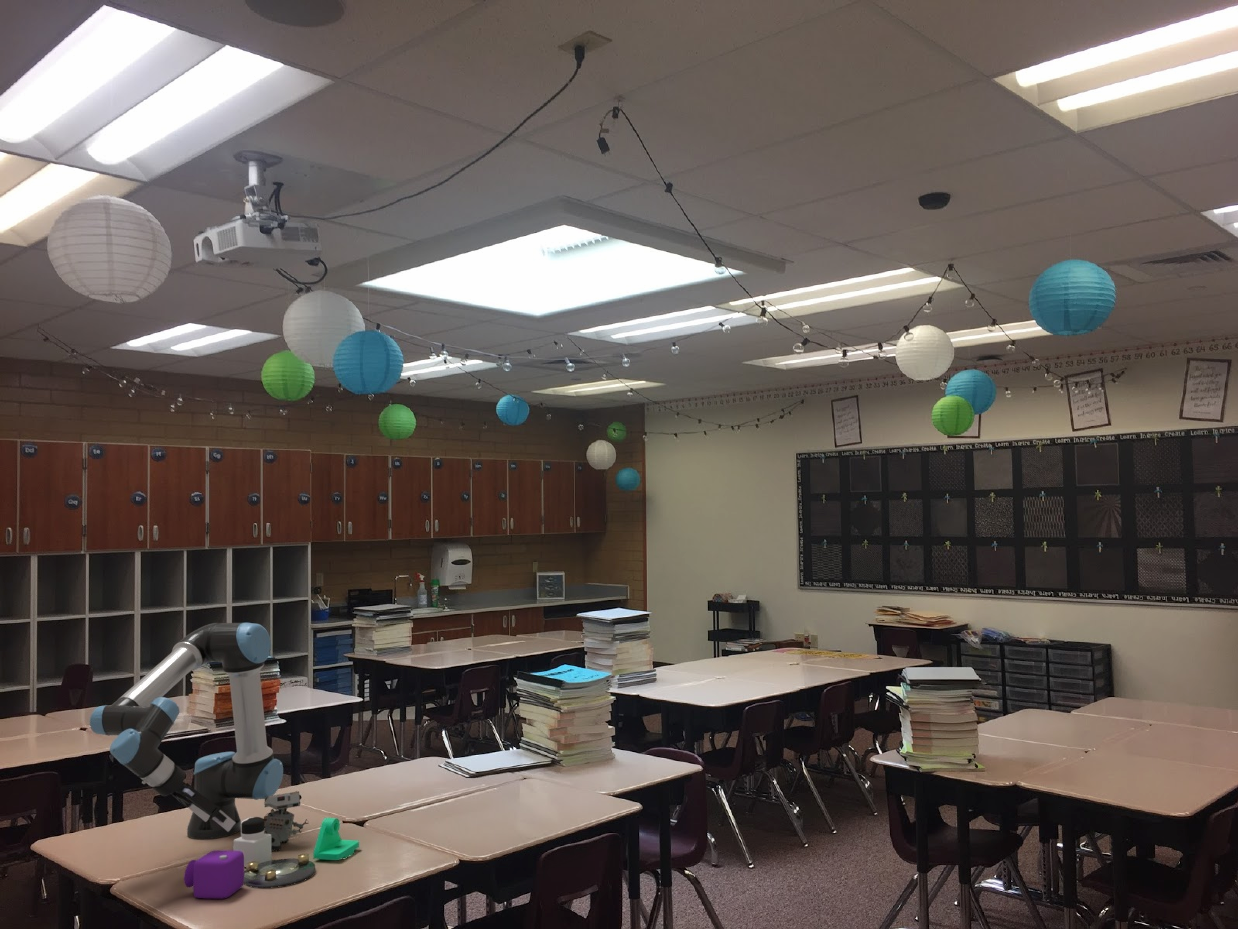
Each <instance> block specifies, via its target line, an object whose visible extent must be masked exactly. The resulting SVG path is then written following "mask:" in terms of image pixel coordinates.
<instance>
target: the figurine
mask: <svg viewBox="0 0 1238 929" xmlns="http://www.w3.org/2000/svg"><path fill="white" fill-rule="evenodd" d="M301 800H302V795H301V794H300V790H299V791H298V790H296V791H293V792H292V791H291V792H286V793H281V794H280V793H279V794H274V795H272V796H267V797H266V798H265V799H264V803H263V804H264V808H272V809H270V812H268V813H266V814H265V815H264V816H263V819H264V833H263V834H271V852H272V851H273V852H279V851H280V850H281V849H282V846H281V844H284V843H285V844H286V843H288V842H289V839H290V838H291V835H293V836H295V835H296V834H297V833H300V834H301V833H302V832H303V830H302V829H303V828H304V826H305V825H308V824H309V820H308V819H305V821H304V822H303V823H298V822H297V821H294V818H295V814H294V813H292V812H290V811H287V809H290V808H297V807H300V806H301ZM293 827H294V829H292V828H293ZM296 827H297V828H298V829H295V828H296Z"/></svg>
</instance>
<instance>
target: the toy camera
mask: <svg viewBox="0 0 1238 929" xmlns="http://www.w3.org/2000/svg"><path fill="white" fill-rule="evenodd" d="M244 871H245V868H244V854H243V852H241V851H233V850H212V851H210V852H208V853H206V854H204V855H203V856H202V857H200V858H198V859H197V860H196V859H192V860H190V861H189V863H188V864H187V866H186V867H185V871H184V875H183V881H184V882H183V883H184V885H185V886H186V888H192V887H193V888H192V889H193V891H192V892H193V896H194V898H197V899H211V900H212V899H215V900H217V899H220V900H222V899H227V898H229V897H231V896H232V895H233V894H234V893H236V892H237V891H239V890H240V889H241V888H242V887H243V885H244V883H243V882H244Z"/></svg>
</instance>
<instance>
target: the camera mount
mask: <svg viewBox="0 0 1238 929" xmlns="http://www.w3.org/2000/svg"><path fill="white" fill-rule="evenodd" d="M340 824H341V822H340V819H339V818H338V817H336V818H335V817H324V819H323V820H322V822H321V825H320V827H319V831H318V836H317V839H316V842H315V846H314V849H313V852H312V853H313V859H315V860H329V861H338V860H342V859H341V858H346V857H348V856H349V855H351V856H353V855H354V854H355V851H356V850H357V849H359V848H360V841H359V840H351V839H342V838H341V835H340V833H339V831H340V828H341V825H340ZM353 853H354V854H353ZM352 854H353V855H352ZM348 858H349V857H348Z"/></svg>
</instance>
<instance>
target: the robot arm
mask: <svg viewBox="0 0 1238 929" xmlns="http://www.w3.org/2000/svg"><path fill="white" fill-rule="evenodd" d="M271 648H272V642H271V637H270V634H269V632H268V631H267V629H266V628H265V627H264V626H263V625H261V624H260V623H251V622H227V623H226V622H213V623H209V624H206V625H203V626H201V627H199V628H197V629H195V630H193V631H192V632H190V633H188V634H187V635H186V636H184V637H183V638H182V639H181V640H179V641H177V643H175V645H174V646H173V648H172V651H171V653H169V654H168V655H167V656H166V657H165V658H164V659H162V661H161V662H159V663H158V664H157V665H155V667H153V668H152V669H151V670H150V671H149V672H148V673H147V674H146V675H145V676H142V677H141V678H140V680H138V681H137V682H136V683H135V684H134V685H133V686H132V687H130V688H129V689H128V690H127V691H126V692H125V693H124V694H123V695H121V696H120V697H119V698H117V700H115V702H113V703H112V704H105V705H101V706H97V707H96V708H95V709H94V710H93V711H92V713H91V714H90V717H89V727H90V729H91V731H92V732H93V733H95V734H96V735H102V736H103V735H105V736H117V737H116V738H114V739H113V741H112V743H110V747H109V752H110V754H111V755H112V756H113V758H115V760H117V761H118V762H119V764H121V765H122V766H124V767H125V768H127V769H128V770H129V771H130V772H132V773H133V774H134V775H135V776H137V777H139V778H140V779H141V780H142V781H141V784H143V785H146V784H147V785H148V786H149V787H151V788H152V789H153V790H154V791H155V792H156V793H158V795H160V796H162V797H168V796H169V795H172V797H174V798H175V800H177V802H179V803H180V804H181V805H183V806H184V807H187V808H188V809H189V810H190V811H191V812H192V814H191V816H190V819H189V822H188V826H187V829H186V830H187V831H186V832H187V833H186V834H187V837H188V838H190V839H194V838H196V840H210V839H212V840H213V839H218V838H224V837H228V836H231V835H235V834H237V833H238V832H239V831H241V822H242V821H241V818H240V817H241V816H240V814H239V812H238V811H239V810H238V808H237V805H236V799H244V800H255V801H256V800H257V801H258V800H265V798H266V797H267V796H272V795H276V794H277V791H278V790H279V788H280V786H281V783H282V781H283V776H284V767H283V766H284V764H283V762H282V761H281V760H280V759H278V758H274V751H273V749H272V748H271V747H269V746H268V743H267V731H266V722H265V713H264V712H265V711H264V701H263V700H264V699H263V694H262V692H263V691H262V682H261V680H262V679H261V670H262V668H264V666H265V661H267V659H268V658H269V657H270V654H271V652H270V651H271ZM207 663H222V664H221V665H222V672H223V673H224V674H226V675H228V677H229V687H230V695H231V696H230V698H231V706H232V715H233V724H234V736H235V745H236V746H235V747H236V752H235V751H225V752H224V751H223V752H219V753H213V754H209V755H205V756H203V757H199V758H198V759H197V760H196V761H195V763H194V772H193V781H194V784H193V786H192V785H191V784H189V783H187V782H185V781H184V780H185V777H186V772H185V770H184V769H182V768H181V767H179V766H178V765H177V764H175V762H174V761H173V760H172V759H170V757H168V756H166V754H164V753H163V752H162V751H161V750H160V749H159V746H160V744H162V742H163V740H164V739H165V737H166V736H167V734H168V732H169V731H170V730H171V728H172V727H173V726H174V725H175V722H176V720H177V718H178V716H179V715H180V707H179V706H178V704H177V703H176V701H174V700H172V699H170V698H168V697H164V696H165V695H166V694H167V693H168V692H169V691H170V690H171V689H172V688H174V686H176V685H177V684H178V683H179V682H180V681H181V680H182V679H183V678H185V676H187V674H189V673H190V672H192V671H197V670H198V669H199V668H201V666H203V665H205V664H207Z"/></svg>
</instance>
